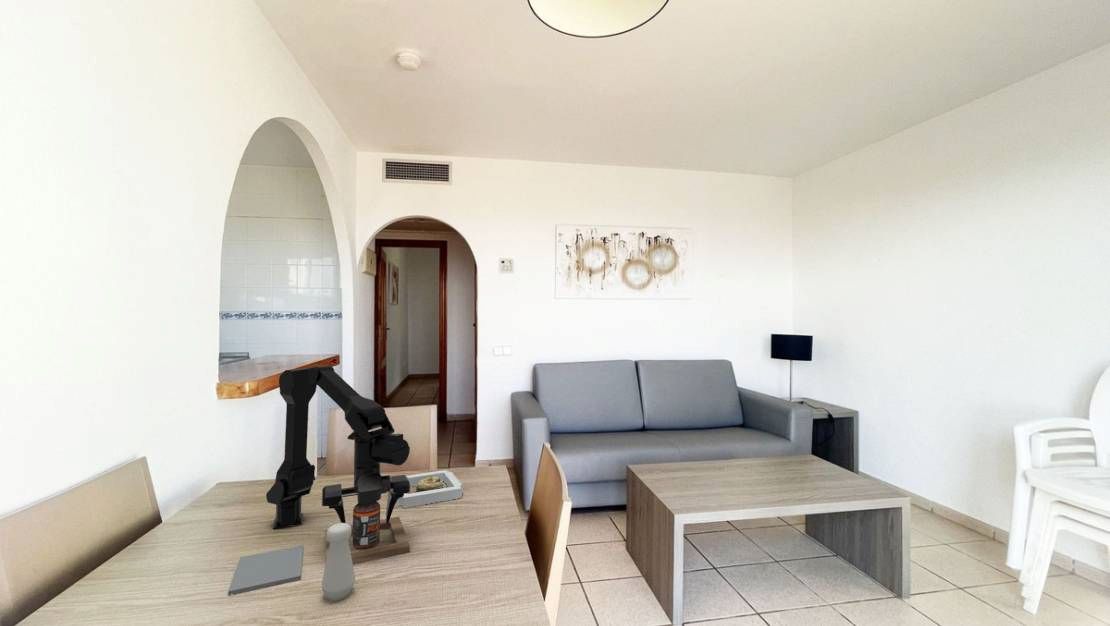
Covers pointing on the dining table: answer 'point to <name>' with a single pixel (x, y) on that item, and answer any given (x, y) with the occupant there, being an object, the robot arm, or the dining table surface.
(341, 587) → the salt shaker
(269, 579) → the grey flat slab
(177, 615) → the dining table surface
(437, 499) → the grey bread rim
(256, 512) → the dining table surface
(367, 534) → the supplement bottle
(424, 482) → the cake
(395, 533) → the frame
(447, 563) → the dining table surface
